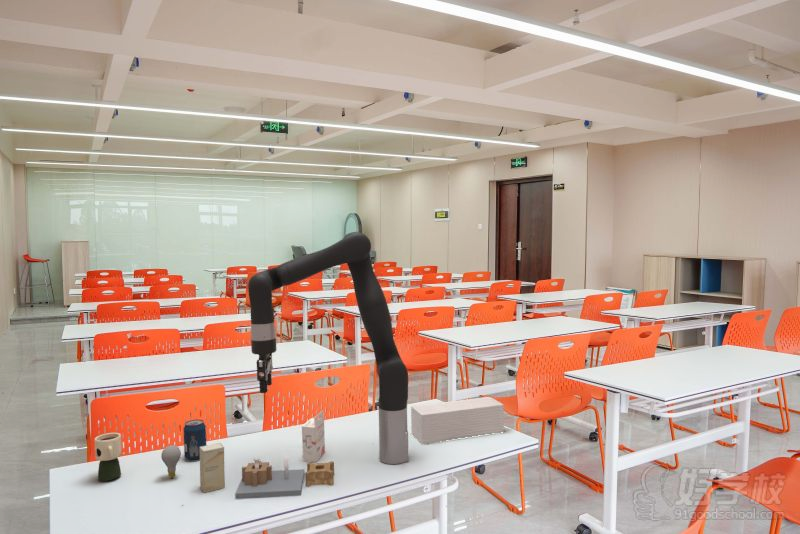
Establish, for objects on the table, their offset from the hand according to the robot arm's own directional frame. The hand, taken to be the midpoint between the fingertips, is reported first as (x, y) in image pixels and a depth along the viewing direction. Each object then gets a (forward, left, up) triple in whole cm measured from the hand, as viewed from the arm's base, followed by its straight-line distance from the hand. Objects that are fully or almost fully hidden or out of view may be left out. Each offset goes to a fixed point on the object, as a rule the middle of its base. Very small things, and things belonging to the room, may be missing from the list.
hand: (266, 388), depth 173 cm
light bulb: (+28, +3, -26) cm, 38 cm away
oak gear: (-17, +10, -26) cm, 32 cm away
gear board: (-3, +12, -26) cm, 28 cm away
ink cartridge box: (-14, -8, -26) cm, 30 cm away
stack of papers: (-65, -23, -26) cm, 73 cm away
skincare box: (+14, +11, -26) cm, 32 cm away
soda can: (+25, -12, -26) cm, 38 cm away
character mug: (+47, +1, -26) cm, 54 cm away
